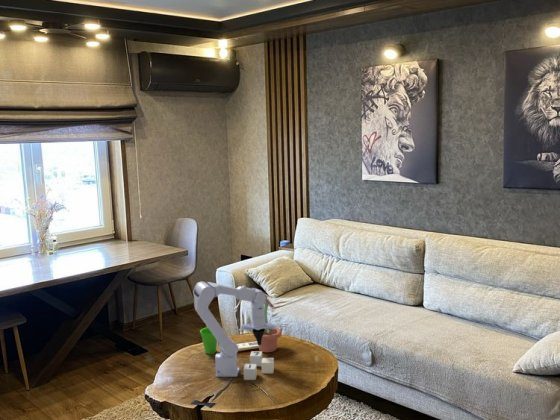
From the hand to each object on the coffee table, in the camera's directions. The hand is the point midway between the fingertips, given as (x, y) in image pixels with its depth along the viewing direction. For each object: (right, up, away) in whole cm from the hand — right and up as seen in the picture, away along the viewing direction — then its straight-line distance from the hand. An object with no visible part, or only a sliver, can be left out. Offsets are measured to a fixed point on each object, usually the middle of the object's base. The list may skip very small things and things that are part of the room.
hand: (259, 344), depth 257 cm
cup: (-24, -8, +18) cm, 31 cm away
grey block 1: (-4, -12, -10) cm, 16 cm away
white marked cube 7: (-1, -10, +3) cm, 10 cm away
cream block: (+4, -11, -4) cm, 12 cm away
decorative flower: (+4, -7, +17) cm, 19 cm away
